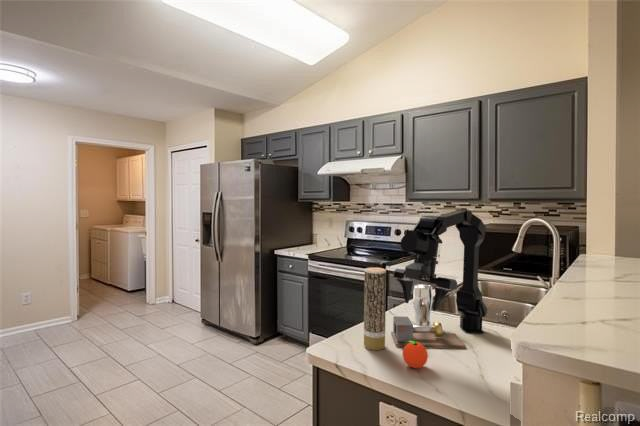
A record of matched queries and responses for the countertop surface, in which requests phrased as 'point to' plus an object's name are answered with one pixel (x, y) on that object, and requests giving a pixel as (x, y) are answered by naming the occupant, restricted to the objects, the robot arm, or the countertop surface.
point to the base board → (434, 340)
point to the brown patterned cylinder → (374, 308)
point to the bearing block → (402, 329)
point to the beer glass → (422, 304)
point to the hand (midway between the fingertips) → (420, 306)
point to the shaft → (429, 329)
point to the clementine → (415, 354)
